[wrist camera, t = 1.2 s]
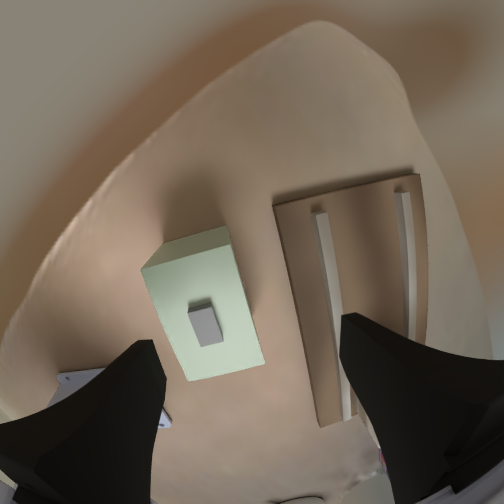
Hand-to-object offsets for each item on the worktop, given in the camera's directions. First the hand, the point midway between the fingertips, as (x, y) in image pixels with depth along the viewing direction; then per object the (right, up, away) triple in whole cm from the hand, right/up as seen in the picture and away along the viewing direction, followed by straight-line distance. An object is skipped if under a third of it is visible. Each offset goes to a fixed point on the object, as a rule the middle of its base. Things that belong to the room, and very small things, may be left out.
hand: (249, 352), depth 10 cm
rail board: (+10, -2, +12) cm, 15 cm away
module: (-3, +2, +9) cm, 10 cm away
